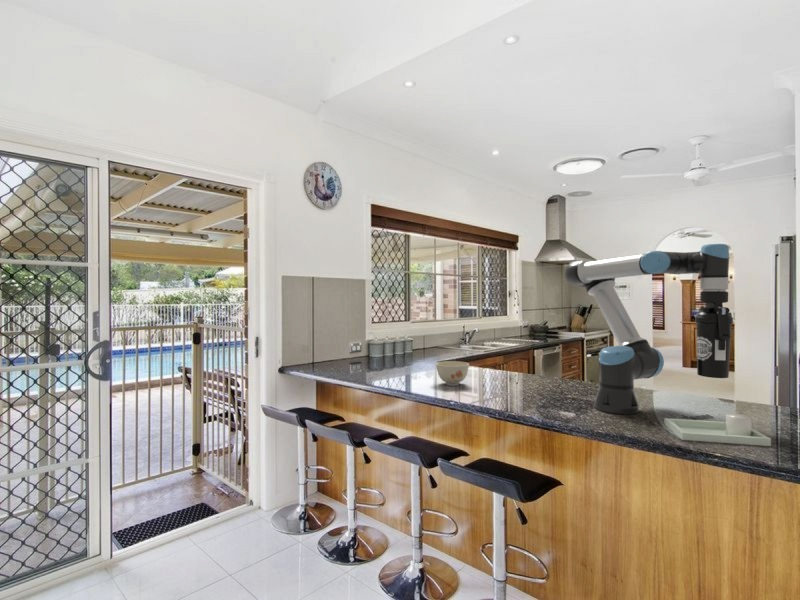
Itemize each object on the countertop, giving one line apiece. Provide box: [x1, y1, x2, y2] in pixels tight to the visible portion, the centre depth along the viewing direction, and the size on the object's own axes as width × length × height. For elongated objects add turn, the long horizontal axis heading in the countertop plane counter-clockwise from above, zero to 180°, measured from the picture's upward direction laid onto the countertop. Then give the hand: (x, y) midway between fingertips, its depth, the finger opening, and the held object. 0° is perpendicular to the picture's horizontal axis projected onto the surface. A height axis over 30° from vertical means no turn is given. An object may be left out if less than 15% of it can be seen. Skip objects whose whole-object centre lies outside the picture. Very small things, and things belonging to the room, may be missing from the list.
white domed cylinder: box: [725, 413, 752, 436], centre depth 128 cm, size 6×6×6 cm
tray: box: [663, 417, 772, 447], centre depth 130 cm, size 22×15×3 cm
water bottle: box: [694, 306, 734, 379], centre depth 142 cm, size 10×10×23 cm
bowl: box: [435, 360, 470, 387], centre depth 206 cm, size 16×16×10 cm
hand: (712, 357), depth 143 cm, fingers closed on water bottle, 9 cm apart
